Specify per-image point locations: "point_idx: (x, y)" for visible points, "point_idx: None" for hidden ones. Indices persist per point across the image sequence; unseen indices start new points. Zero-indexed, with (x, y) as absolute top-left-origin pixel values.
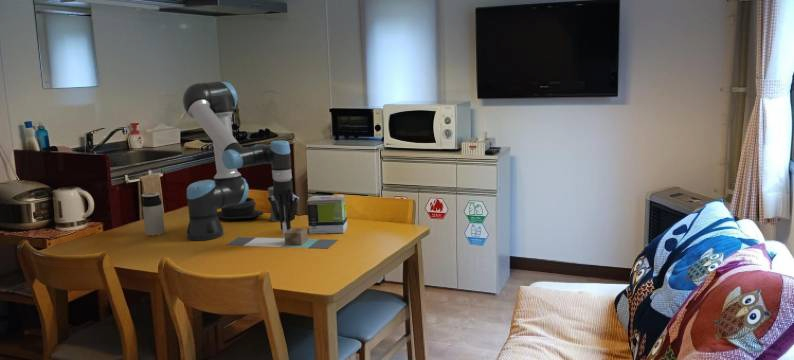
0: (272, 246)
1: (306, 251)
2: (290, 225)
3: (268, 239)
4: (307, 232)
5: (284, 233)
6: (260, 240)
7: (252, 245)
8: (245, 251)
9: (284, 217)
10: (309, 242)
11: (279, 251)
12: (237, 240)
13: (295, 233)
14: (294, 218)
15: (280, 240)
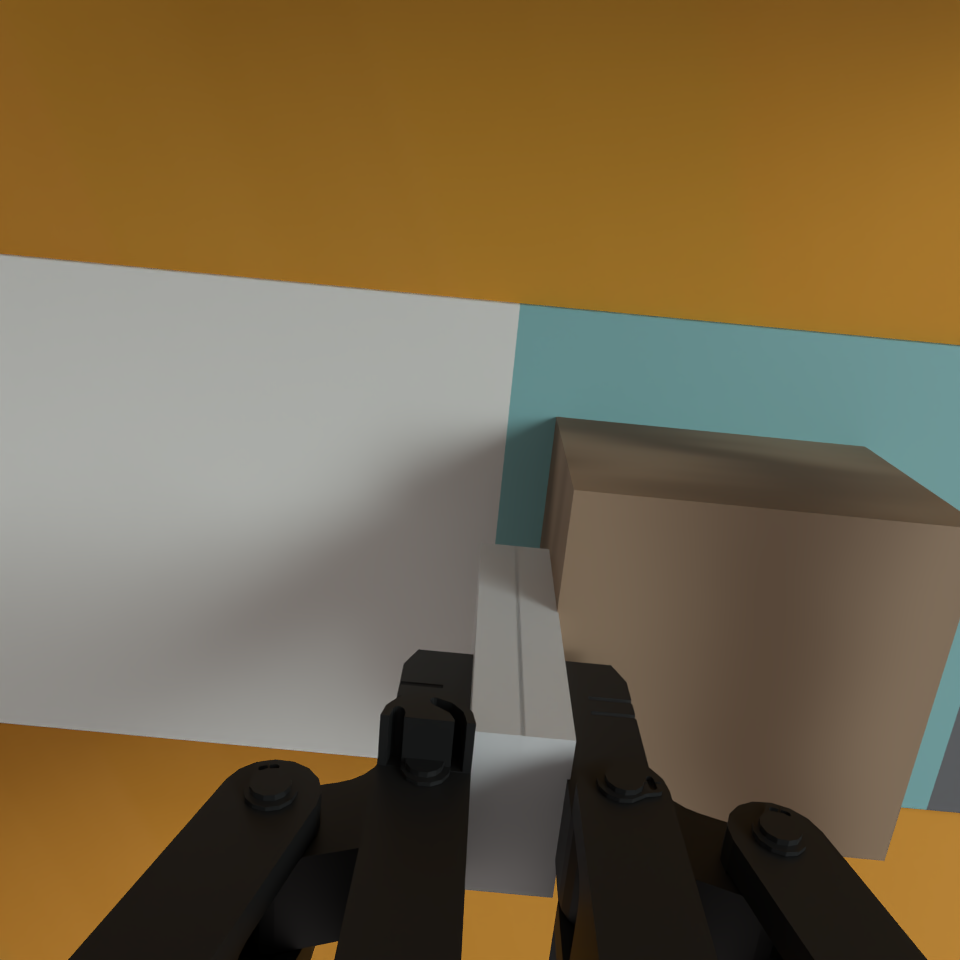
0: (348, 754)
1: (909, 930)
2: (633, 724)
3: (94, 367)
4: (940, 498)
5: None
6: None
7: (7, 702)
8: (55, 917)
9: (467, 835)
10: None
11: (528, 924)
12: None
13: None
14: (815, 851)
15: (348, 433)
